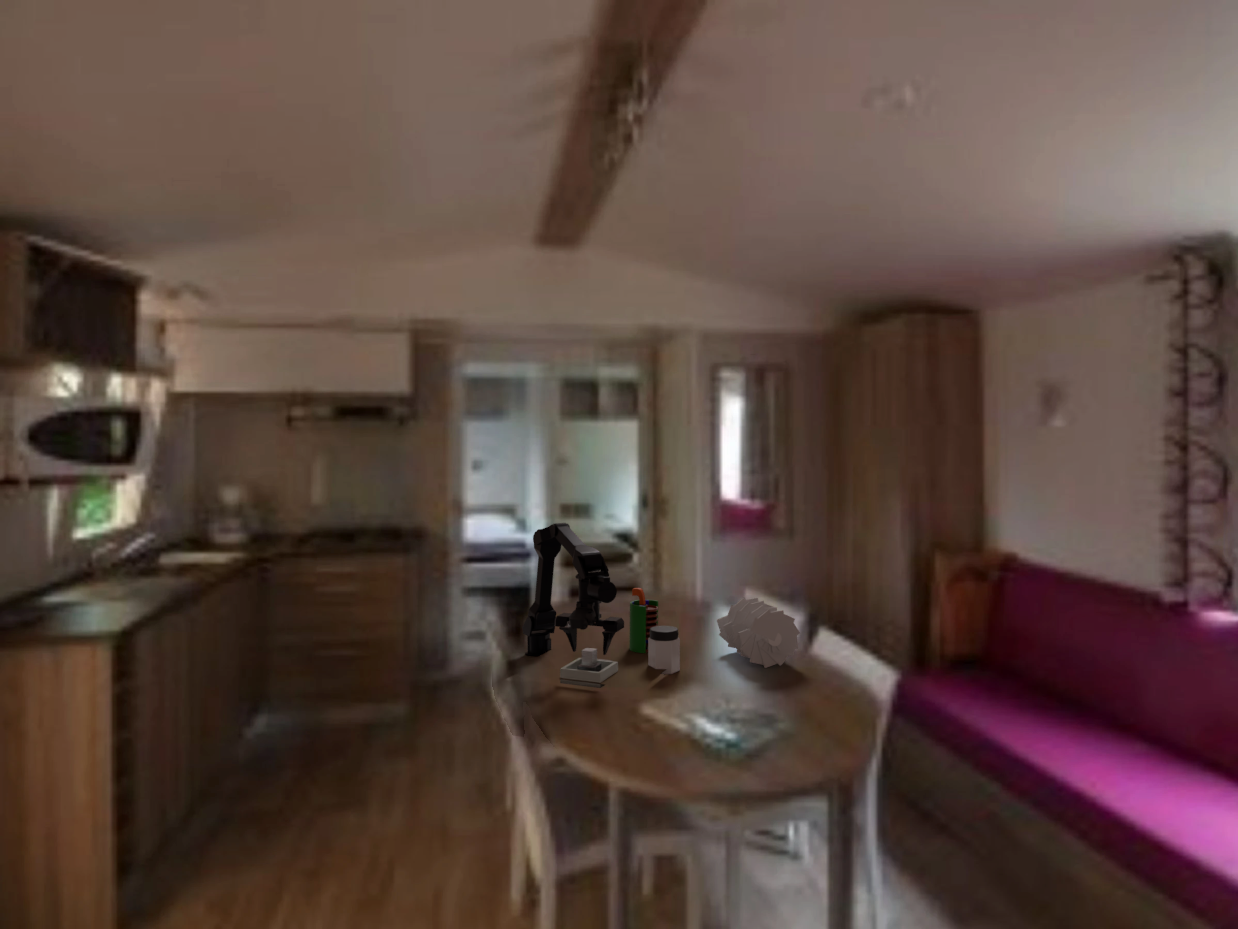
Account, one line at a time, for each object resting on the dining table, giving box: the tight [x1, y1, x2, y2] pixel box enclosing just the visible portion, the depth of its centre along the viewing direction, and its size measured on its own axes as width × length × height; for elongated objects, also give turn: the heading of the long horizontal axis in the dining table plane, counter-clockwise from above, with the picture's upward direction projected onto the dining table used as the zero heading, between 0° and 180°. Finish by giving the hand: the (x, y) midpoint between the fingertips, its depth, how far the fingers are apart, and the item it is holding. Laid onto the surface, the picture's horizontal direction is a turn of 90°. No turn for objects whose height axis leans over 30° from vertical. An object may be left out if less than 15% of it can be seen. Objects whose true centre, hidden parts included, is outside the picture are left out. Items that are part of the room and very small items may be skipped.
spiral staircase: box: [716, 597, 801, 669], centre depth 257 cm, size 18×18×25 cm
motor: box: [628, 587, 659, 654], centre depth 265 cm, size 10×9×20 cm
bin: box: [559, 657, 619, 689], centre depth 238 cm, size 12×12×4 cm
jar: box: [647, 625, 681, 675], centre depth 247 cm, size 9×8×12 cm
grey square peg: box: [577, 647, 601, 672], centre depth 238 cm, size 5×5×8 cm
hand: (589, 653), depth 238 cm, fingers open, 9 cm apart
